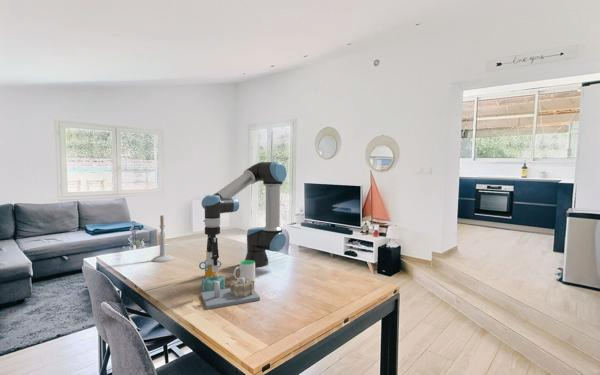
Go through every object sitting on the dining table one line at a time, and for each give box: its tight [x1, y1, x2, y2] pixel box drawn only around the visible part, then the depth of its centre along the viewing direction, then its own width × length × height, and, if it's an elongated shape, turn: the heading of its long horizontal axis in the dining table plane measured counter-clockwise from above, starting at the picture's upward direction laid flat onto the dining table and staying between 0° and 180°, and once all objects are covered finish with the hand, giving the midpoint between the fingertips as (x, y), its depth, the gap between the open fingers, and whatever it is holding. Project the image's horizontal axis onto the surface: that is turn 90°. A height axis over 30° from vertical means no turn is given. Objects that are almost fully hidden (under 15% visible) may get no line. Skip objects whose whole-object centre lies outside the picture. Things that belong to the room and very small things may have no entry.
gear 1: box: [201, 274, 226, 292], centre depth 168 cm, size 11×11×5 cm
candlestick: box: [152, 214, 174, 263], centre depth 220 cm, size 13×13×30 cm
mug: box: [233, 259, 256, 283], centre depth 178 cm, size 12×8×10 cm, turn 128°
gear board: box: [200, 278, 261, 310], centre depth 156 cm, size 24×17×8 cm
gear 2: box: [229, 279, 255, 297], centre depth 159 cm, size 11×11×5 cm
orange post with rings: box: [198, 249, 222, 278], centre depth 187 cm, size 12×10×15 cm
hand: (212, 267), depth 168 cm, fingers open, 13 cm apart
